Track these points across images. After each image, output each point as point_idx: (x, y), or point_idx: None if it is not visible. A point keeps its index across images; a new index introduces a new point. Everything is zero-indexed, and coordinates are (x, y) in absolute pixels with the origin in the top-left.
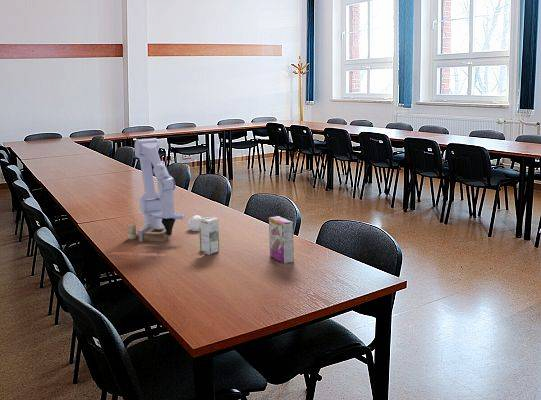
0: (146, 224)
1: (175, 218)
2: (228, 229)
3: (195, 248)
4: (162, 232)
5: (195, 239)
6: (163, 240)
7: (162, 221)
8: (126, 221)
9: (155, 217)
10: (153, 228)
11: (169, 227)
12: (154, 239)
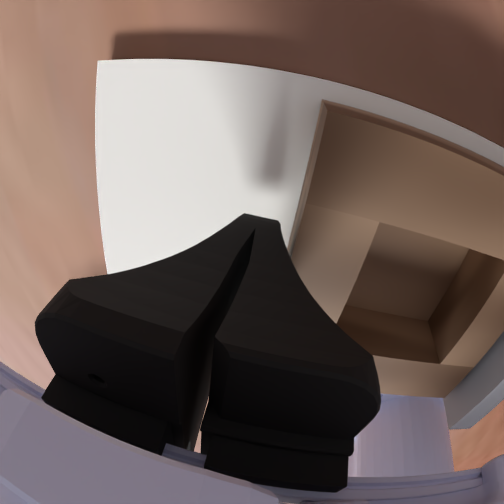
0: (448, 442)
1: (23, 391)
2: (33, 350)
3: (19, 9)
4: (346, 209)
5: (70, 226)
6: (321, 107)
7: (347, 374)
8: (459, 469)
9: (472, 490)
10: (440, 377)
11: (200, 259)
12: (439, 139)
